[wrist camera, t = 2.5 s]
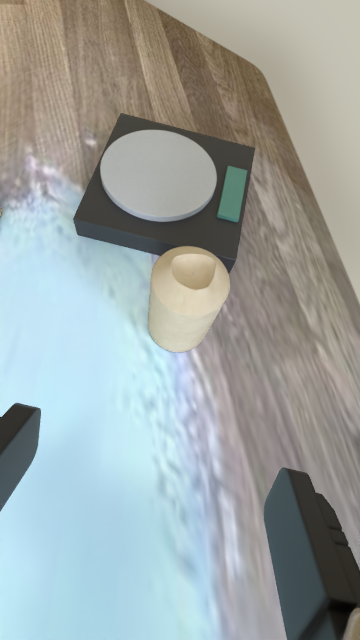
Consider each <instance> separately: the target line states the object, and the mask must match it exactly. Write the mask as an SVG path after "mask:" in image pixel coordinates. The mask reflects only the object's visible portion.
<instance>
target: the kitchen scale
mask: <svg viewBox="0 0 360 640" xmlns="http://www.w3.org/2000/svg"><path fill="white" fill-rule="evenodd" d="M254 150H255V148H253V147H249V146H245V145H241V144H238V143H234V142H230V141H226V140H222V139H218V138H215V137H211V136H207V135H203V134H199V133H195V132H192V131H188V130H184V129H180V128H176V127H172V126H169V125H165V124H161V123H157V122H153V121H149V120H146V119H142V118H138V117H134V116H130V115H126V114H123V113H121V114H120V116H119V118H118V120H117V123H116V125H115V127H114V129H113V132H112V134H111V136H110V138H109V140H108V143H107V145H106V147H105V149H104V152H103V154H102V156H101V158H100V161H99V163H98V165H97V167H96V169H95V172H94V174H93V176H92V178H91V181H90V183H89V185H88V187H87V189H86V192H85V194H84V196H83V198H82V201H81V203H80V205H79V207H78V209H77V212H76V214H75V216H74V218H73V220H74V224H75V227H76V231H77V234H78V235H81V236H85V237H89V238H93V239H97V240H101V241H105V242H109V243H113V244H117V245H121V246H125V247H129V248H133V249H137V250H141V251H145V252H149V253H153V254H157V255H161V256H162V255H163V254H164V253H165V252H167V251H169V250H171V249H174V248H177V247H183V246H192V247H198V248H202V249H204V250H207V251H209V252H210V253H212V254H213V255H215V256H216V257H217V258H218V259H219V260H220V261H221V262H222V263H223V264H224V266H225V268H226V269H227V272H228V273H229V272H230V271H231V269H232V267H233V265H234V263H235V261H236V257H237V251H238V245H239V239H240V233H241V227H242V221H243V216H244V210H245V204H246V198H247V192H248V186H249V180H250V174H251V168H252V162H253V156H254Z"/></svg>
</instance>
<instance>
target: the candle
mask: <svg viewBox="0 0 360 640" xmlns="http://www.w3.org/2000/svg"><path fill="white" fill-rule="evenodd" d="M229 289H230V279H229V274H228V272H227V269H226V268H225V266H224V264H223V263H222V262H221V261H220V260H219V259H218V258H217V257H216V256H215V255H213V254H212V253H210V252H209V251H207V250H204V249H202V248H198V247H192V246H183V247H177V248H174V249H171V250H169V251H167V252H165V253H164V254H163V255H162V256H161V257H160V258H159V259H158V260H157V261H156V263H155V265H154V267H153V270H152V275H151V287H150V301H149V315H148V327H149V331H150V334H151V336H152V338H153V340H154V341H155V342H156V343H157V344H158V345H159V346H160V347H162V348H164V349H166V350H168V351H171V352H185V351H189V350H191V349H193V348H195V347H196V346H197V345H199V344H200V343H201V341H202V340H203V338H204V337H205V335H206V333H207V332H208V330H209V328H210V326H211V325H212V323H213V321H214V319H215V317H216V316H217V314H218V312H219V310H220V309H221V307H222V305H223V303H224V301H225V300H226V298H227V296H228V293H229Z"/></svg>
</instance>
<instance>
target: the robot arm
mask: <svg viewBox="0 0 360 640" xmlns="http://www.w3.org/2000/svg"><path fill="white" fill-rule="evenodd" d="M40 418H41V409H40V408H37V407H32V406H28V405H24V404H20V403H15V404H14V405H12V406H11V408H10V409H9V410H8V411H7V412H6V413H5V414H4V415H3V416H2V417H0V511H1V510H2V508H3V506H4V505H5V503H6V502H7V500H8V499H9V497H10V496H11V494H12V493H13V491H14V489H15V488H16V486H17V485H18V483H19V482H20V480H21V479H22V477H23V475H24V474H25V472H26V471H27V469H28V468H29V466H30V464H31V463H32V461H33V459H34V456H35V454H36V451H37V447H38V439H39V428H40ZM264 522H265V527H266V533H267V538H268V543H269V548H270V553H271V559H272V564H273V569H274V574H275V579H276V585H277V590H278V595H279V600H280V605H281V611H282V616H283V621H284V626H285V631H286V636H287V640H360V570H359V567H358V565H357V563H356V560H355V558H354V556H353V553H352V551H351V549H350V547H348V541H347V539H346V537H345V534H344V532H342V527H341V525H340V523H339V520H338V518H337V515H336V513H335V511H334V509H333V508H332V507H331V506H330V504H329V503H328V502H327V500H326V499H325V498H324V496H323V495H322V494H319V493H316V492H315V490H314V487H313V485H312V482H311V479H310V477H309V475H308V474H307V473H305V472H301V471H296V470H292V469H288V468H282V469H281V470H280V471H279V473H278V475H277V477H276V480H275V482H274V484H273V486H272V488H271V490H270V492H269V494H268V496H267V499H266V501H265V506H264Z"/></svg>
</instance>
